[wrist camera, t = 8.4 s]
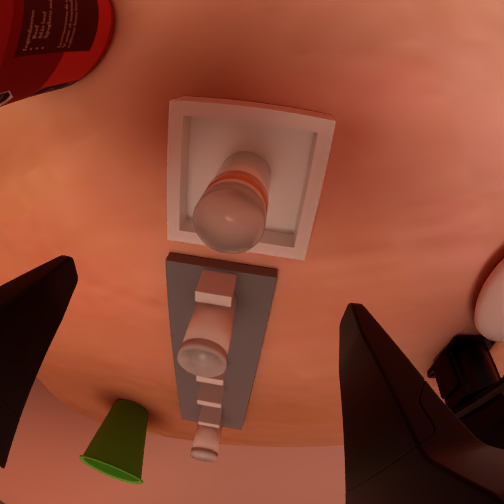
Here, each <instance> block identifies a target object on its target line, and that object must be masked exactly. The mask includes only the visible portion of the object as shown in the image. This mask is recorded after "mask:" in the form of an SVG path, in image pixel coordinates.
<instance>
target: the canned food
mask: <svg viewBox="0 0 504 504" xmlns="http://www.w3.org/2000/svg"><path fill="white" fill-rule="evenodd" d="M113 27H114V11H113V7H112V4H111V2H110V0H0V107H1V106H4V105H7V104H9V103H12V102H15V101H19V100H22V99H25V98H28V97H32V96H35V95H38V94H42V93H46V92H49V91H53V90H57V89H61V88H64V87H67V86H69V85H71V84H73V83H75V82H76V81H78V80H79V79H81V78H82V77H84V76H85V75H86V74H87V73H88V72H90V71H91V70H92V69H93V68H94V67H95V65H96V64H97V63H98V62H99V61H100V59H101V58H102V56H103V54H104V53H105V51H106V49H107V47H108V45H109V43H110V39H111V36H112V33H113Z"/></svg>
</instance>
